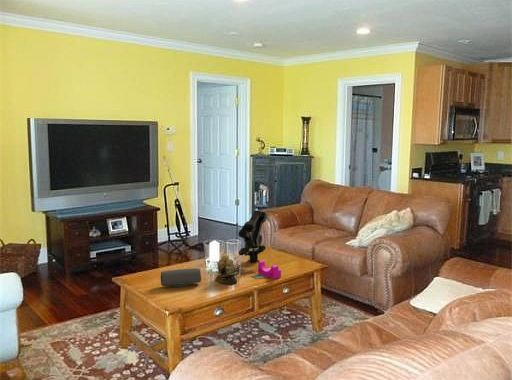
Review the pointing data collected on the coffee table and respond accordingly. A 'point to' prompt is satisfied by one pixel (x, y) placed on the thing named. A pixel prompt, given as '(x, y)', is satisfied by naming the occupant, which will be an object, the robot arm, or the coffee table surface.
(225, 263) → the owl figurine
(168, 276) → the bluetooth speaker
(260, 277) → the mat
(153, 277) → the coffee table surface
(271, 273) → the toy block
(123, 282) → the coffee table surface
